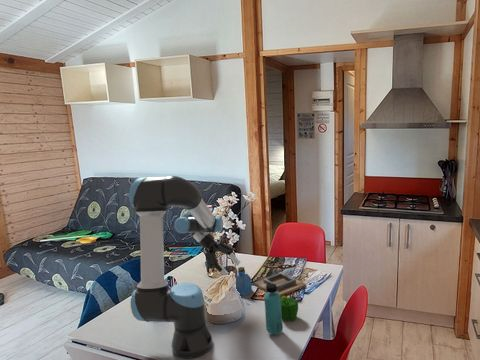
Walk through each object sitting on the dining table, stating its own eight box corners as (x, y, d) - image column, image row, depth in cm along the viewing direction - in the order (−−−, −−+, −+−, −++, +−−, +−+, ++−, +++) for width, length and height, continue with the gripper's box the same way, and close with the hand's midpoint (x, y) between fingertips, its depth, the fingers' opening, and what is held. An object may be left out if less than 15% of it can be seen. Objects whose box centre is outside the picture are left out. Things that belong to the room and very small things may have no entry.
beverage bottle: (278, 340, 138) (275, 290, 134) (263, 335, 141) (259, 287, 138) (286, 330, 143) (283, 283, 140) (271, 326, 147) (267, 280, 143)
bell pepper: (298, 312, 156) (297, 290, 154) (299, 323, 148) (298, 300, 146) (278, 312, 157) (276, 291, 155) (278, 323, 148) (276, 300, 147)
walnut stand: (305, 286, 178) (305, 280, 177) (276, 298, 169) (276, 291, 168) (282, 274, 193) (282, 268, 192) (254, 285, 184) (253, 278, 183)
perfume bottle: (251, 290, 179) (250, 266, 177) (245, 295, 174) (243, 271, 172) (241, 287, 182) (239, 264, 180) (234, 293, 177) (232, 269, 175)
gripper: (212, 234, 196) (239, 264, 192) (186, 251, 174) (216, 285, 170) (220, 225, 193) (248, 255, 189) (194, 241, 171) (225, 275, 167)
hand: (233, 269), depth 180 cm, fingers open, 13 cm apart
